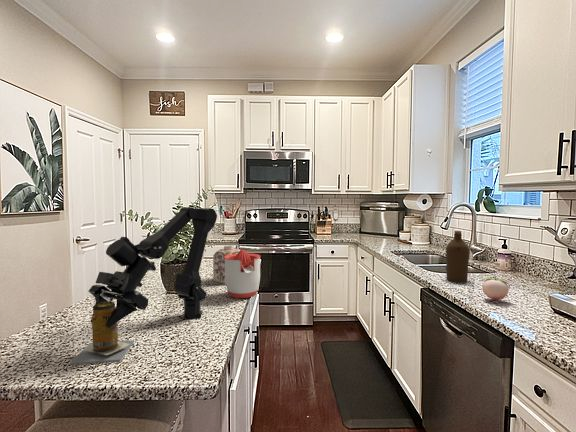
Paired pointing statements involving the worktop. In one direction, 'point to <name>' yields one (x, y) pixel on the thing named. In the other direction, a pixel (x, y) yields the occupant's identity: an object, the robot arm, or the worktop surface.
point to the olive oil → (457, 259)
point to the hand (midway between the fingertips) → (99, 324)
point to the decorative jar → (222, 262)
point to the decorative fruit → (495, 288)
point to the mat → (100, 355)
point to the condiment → (104, 330)
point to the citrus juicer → (242, 274)
